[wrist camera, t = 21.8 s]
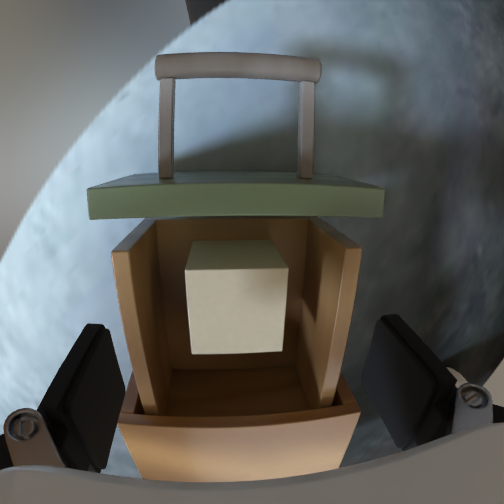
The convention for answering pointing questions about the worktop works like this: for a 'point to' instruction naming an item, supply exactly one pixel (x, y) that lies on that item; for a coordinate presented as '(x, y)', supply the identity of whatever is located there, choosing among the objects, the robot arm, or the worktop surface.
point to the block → (236, 296)
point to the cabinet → (238, 441)
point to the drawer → (235, 228)
